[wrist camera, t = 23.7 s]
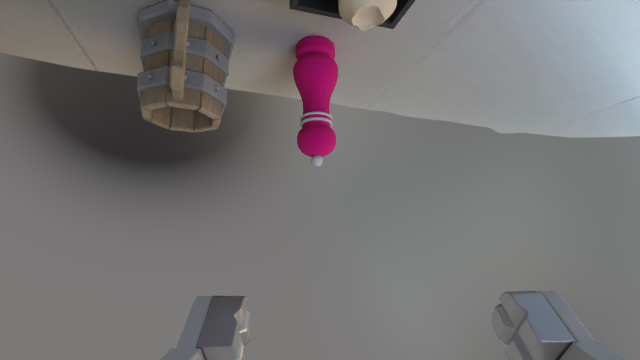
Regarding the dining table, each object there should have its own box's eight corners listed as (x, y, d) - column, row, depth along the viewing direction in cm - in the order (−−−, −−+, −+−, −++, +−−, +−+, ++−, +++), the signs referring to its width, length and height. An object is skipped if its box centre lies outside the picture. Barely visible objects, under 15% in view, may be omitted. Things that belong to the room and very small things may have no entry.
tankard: (226, 63, 55) (222, 144, 52) (145, 46, 50) (135, 135, 47) (249, -23, 37) (245, 92, 34) (127, -64, 32) (109, 68, 29)
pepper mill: (284, 48, 51) (283, 166, 47) (314, 26, 46) (316, 157, 42) (316, 65, 56) (317, 173, 52) (346, 47, 51) (350, 165, 47)
